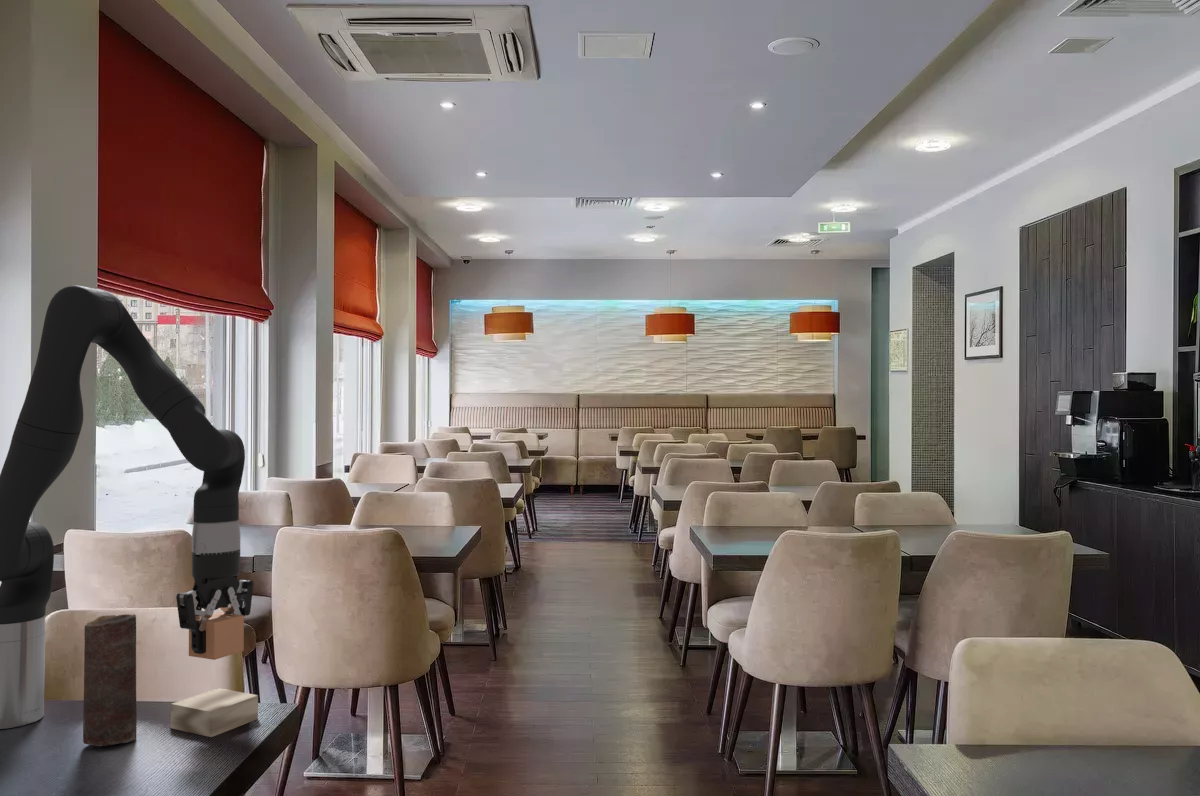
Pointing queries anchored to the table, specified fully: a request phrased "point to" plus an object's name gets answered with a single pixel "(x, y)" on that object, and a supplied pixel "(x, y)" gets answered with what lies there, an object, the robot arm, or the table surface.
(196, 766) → the table surface
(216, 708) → the oak plinth
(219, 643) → the terracotta cube
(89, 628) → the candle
